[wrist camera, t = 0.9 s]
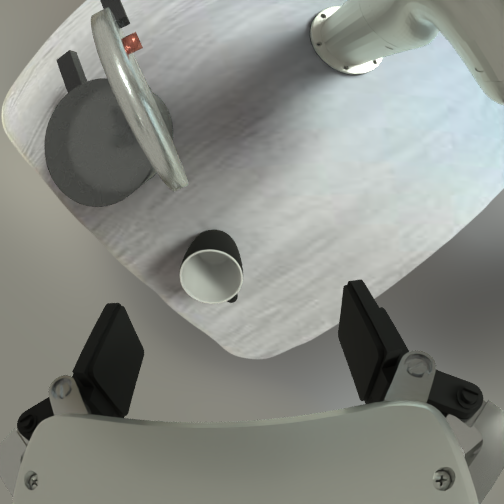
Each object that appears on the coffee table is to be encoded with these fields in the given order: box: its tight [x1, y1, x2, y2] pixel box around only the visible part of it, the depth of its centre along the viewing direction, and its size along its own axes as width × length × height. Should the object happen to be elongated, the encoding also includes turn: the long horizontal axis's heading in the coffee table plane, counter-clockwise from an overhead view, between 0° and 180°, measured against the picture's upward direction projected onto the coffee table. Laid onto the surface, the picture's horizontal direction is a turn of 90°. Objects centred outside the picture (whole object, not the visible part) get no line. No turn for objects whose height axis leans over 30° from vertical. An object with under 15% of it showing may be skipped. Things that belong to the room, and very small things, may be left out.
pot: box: [45, 50, 173, 207], centre depth 33 cm, size 17×24×10 cm
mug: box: [179, 230, 243, 304], centre depth 44 cm, size 12×9×10 cm
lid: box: [91, 0, 188, 191], centre depth 19 cm, size 19×23×2 cm
